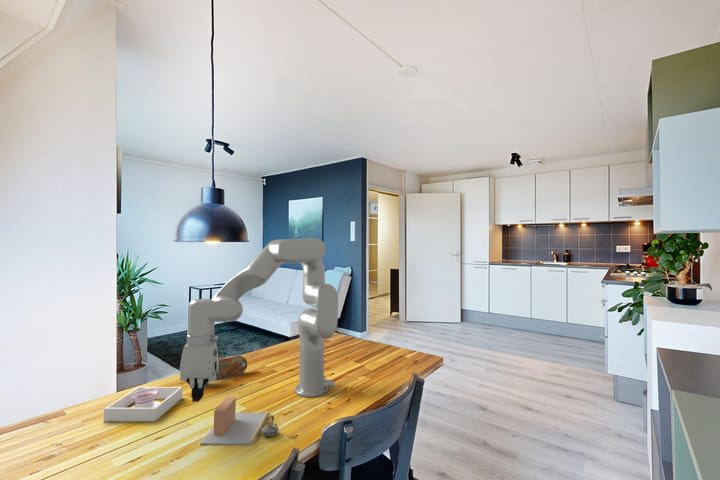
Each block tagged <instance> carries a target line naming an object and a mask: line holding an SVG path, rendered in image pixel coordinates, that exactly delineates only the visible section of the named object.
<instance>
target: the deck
mask: <svg viewBox="0 0 720 480" xmlns="http://www.w3.org/2000/svg"><path fill="white" fill-rule="evenodd" d="M236 401H237V398H236V396H226V397H225V398H224V399H223V400H222V402H220V403H219V405H218V406H217V407H216V408H215V409H214V411H213V427H214V435H224V434H225V433H226V431H227V430H228V429H229V427H230V426H231V424H232V423H233V422H234V420H235V413H236V407H237V406H236Z"/></svg>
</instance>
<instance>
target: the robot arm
mask: <svg viewBox="0 0 720 480" xmlns="http://www.w3.org/2000/svg"><path fill="white" fill-rule="evenodd" d="M325 254H326V245H325V243H324V242H323V240H321V239H320V238H317V237H308V238H307V237H306V238H305V237H303V238H297V239H295V238H293V239H292V238H286V239H285V238H284V239H274V240H271V241H270V242H268V243H267V244H266V245H265V247H263V249H261V251H260V252H259V253H258V254H257V256H255V257H254V258H253V260H251V262H249V264H248V265H247V266H246V267H245V268H244V269H242V270H241V271H239V272H238V273H237V274H236V275H235V276H234V277H232V278H231V279H229V280H228V281H227V282H226V283H225V284H224V285H223V286H222V287H221V288H220V289H219V291H217V293H215V295H214V296H213V297H212V299H211V298H198V299H193V300H191V301H190V302H189V304H188V308H187V309H188V311H187V313H188V315H187V327H186V328H187V331H186V332H187V333H186V344H184V345H183V349H182V353H181V359H180V365H179V376H180V377H179V380H180V381H182V382H186V383H187V384H188V385H189V387H190V389H191V398H192V403H194V402H196V403H199V402H200V401H201V400H202V399H203V398H204V395H205V386H206V385H207V384H208V383H212V382H215V381H217V380H218V379H217V377H216V373H217V372H218V359H219V353H218V345H217V342H216V341H218V340H219V336H218V335H216V334H215V322H216V323H218V322H219V323H231V322H235V321H237V320H238V319H240V318H241V316H242V314H243V312H244V311H243V310H244V308H243V304H242V303H241V302H240V301H239V300H240V299H241V298H242V296H244V295H245V294H246V293H248V292H250V291H253V289H256V288H259V287H261V286H263V285H265V284H266V283H267V282H268V281H269V280H270V278H271V277H272V276H273V274H274V273H275V272H276V271H277V270H278V269H279V268H280V266H282V264H300V265H301V267H302V273H303V278H302V279H303V282H302V300H303V302H304V303H305V304H306V305H308V306H311V307H315V308H316V309H315V308H308V309H307V308H306V309H305V310H303V311H301V313H300V315H299V317H298V318H297V319H298V320H297V326H298V333H299V379H298V380H299V383H298V384H297V385H296V386H295V389H294V392H295V393H296V394H297V395H299V397H300V396H301V397H304V398H305V397H307V398H311V397H312V398H314V397H319V396H323V395H325V394H326V393H327V392H328V387H330V388H335V387H336V382H335V381H333V379H326V375H325V374H324V372H325V340H324V339H329V338H331V337H332V336H334V334H335V333H336V330H337V327H338V322H339V321H338V319H339V318H338V317H339V294H338V291H337V289H336V287H335V286H333V285H332V284H329V283H326V282H325V281H326V280H325V279H326V275H325V274H326V272H325V269H326V268H325V265H324V262H323V257H324V256H325ZM198 378H200V379H199V384H198ZM205 384H206V385H205ZM204 385H205V386H204Z"/></svg>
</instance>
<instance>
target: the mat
mask: <svg viewBox="0 0 720 480" xmlns="http://www.w3.org/2000/svg"><path fill="white" fill-rule="evenodd" d="M269 415H270V410H265V412H235V420H234V422H233V423H232V424H231V426H230V427H229V429H228V430H227V431H226V433H225V434H224V435H214V426H213V427H212V428H211V430H209V432H208V433H207V434H206V435H205V437H204V438H203V439H202V440H201V442H200V446H203V445H204V446H211V445H212V446H224V445H225V446H229V445H230V446H231V445H232V446H234V445H235V446H238V445H239V446H240V445H241V446H243V445H245V446H246V445H247V446H252V445H254V443H255V441H256V439H257V437H258V435H259V433H260V431H261V429H262V428H263V427H264V426H263V425H264V424H265V422H266V420H267V418H268V417H269Z"/></svg>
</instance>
